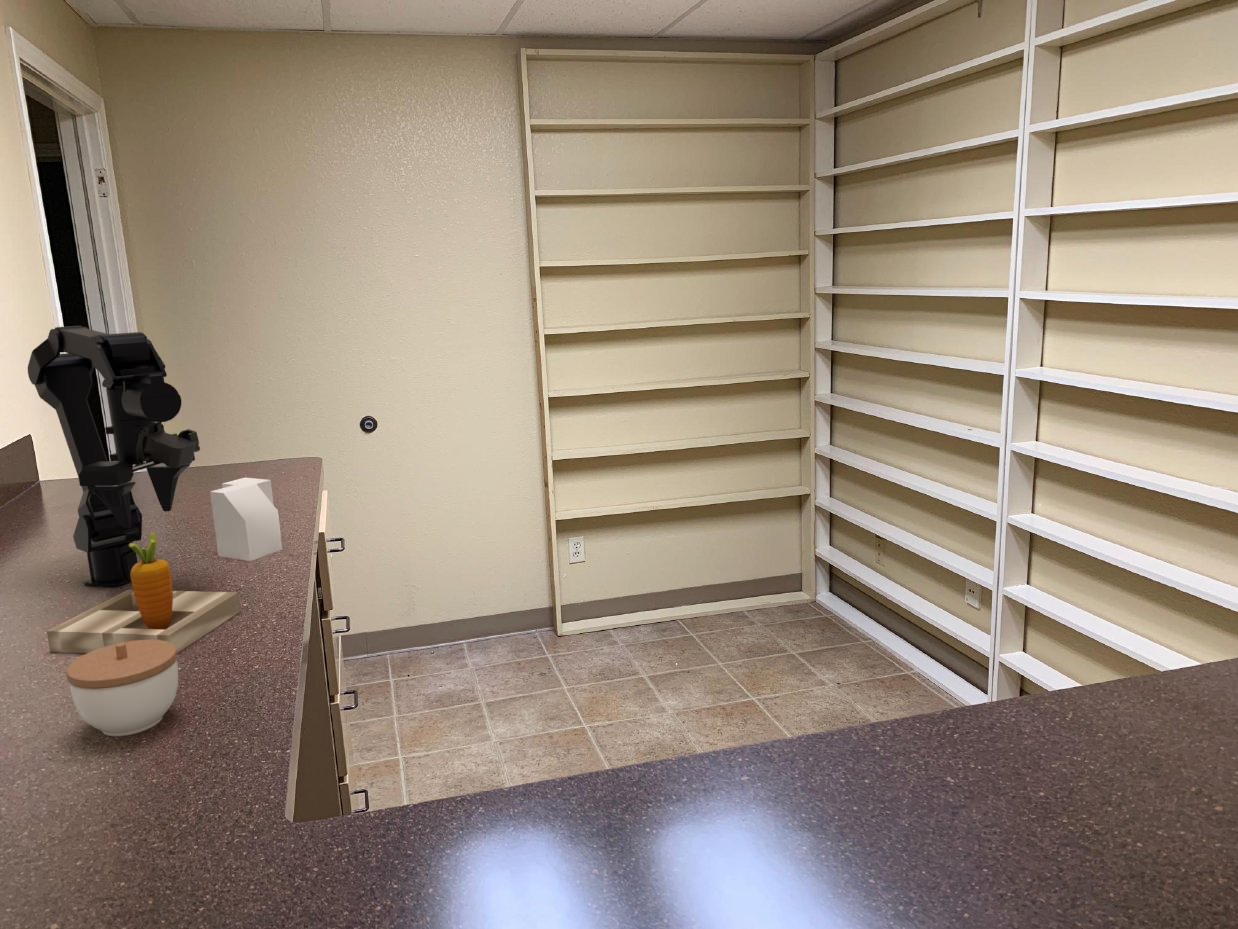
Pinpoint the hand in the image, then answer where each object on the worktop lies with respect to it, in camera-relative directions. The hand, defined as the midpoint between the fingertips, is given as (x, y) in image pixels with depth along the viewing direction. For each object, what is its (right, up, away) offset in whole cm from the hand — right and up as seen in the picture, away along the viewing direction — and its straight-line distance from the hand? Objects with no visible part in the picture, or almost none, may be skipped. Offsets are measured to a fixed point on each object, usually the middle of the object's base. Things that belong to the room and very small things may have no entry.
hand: (147, 518), depth 136 cm
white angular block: (+4, -8, +28) cm, 29 cm away
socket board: (+6, -15, -10) cm, 19 cm away
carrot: (+9, -16, -13) cm, 23 cm away
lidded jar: (+18, -21, -36) cm, 45 cm away
